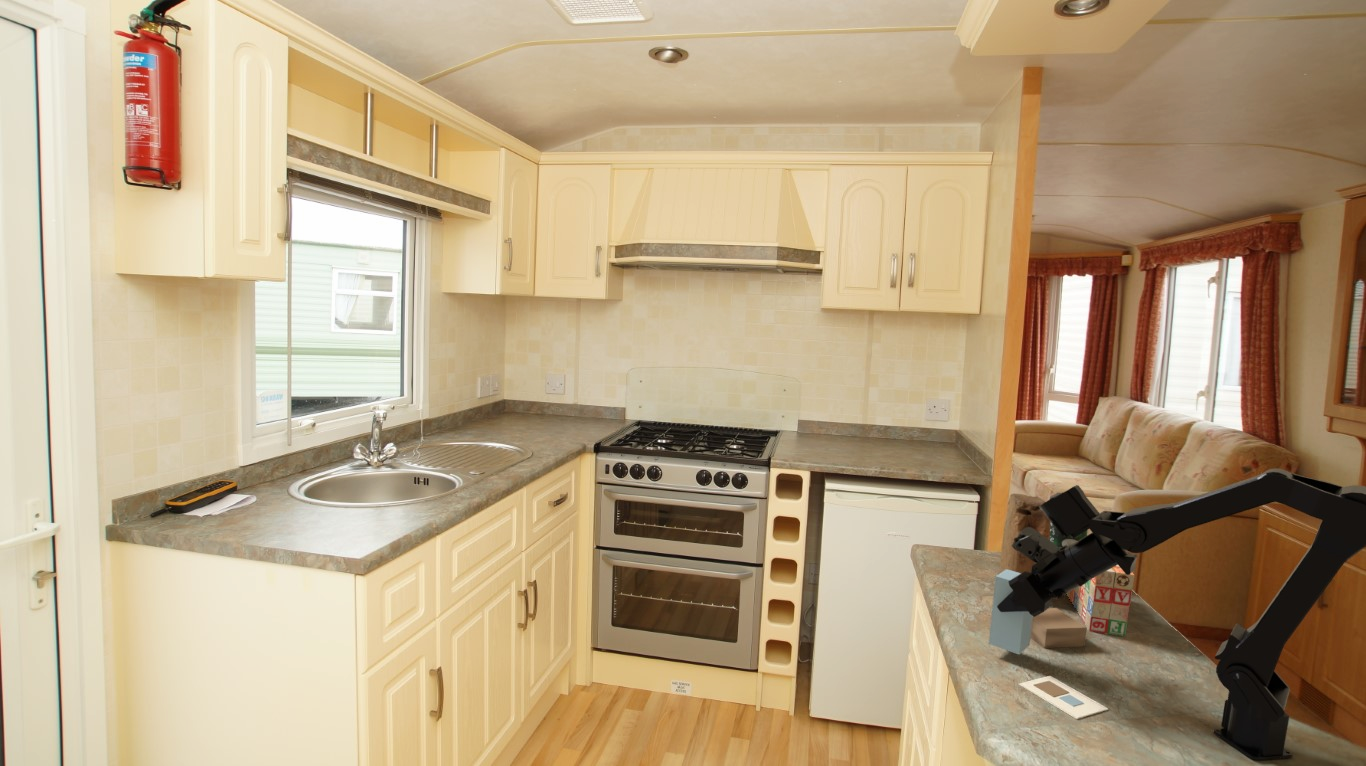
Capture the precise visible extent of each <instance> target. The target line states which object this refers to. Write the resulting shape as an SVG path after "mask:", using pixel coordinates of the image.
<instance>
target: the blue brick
mask: <svg viewBox="0 0 1366 766" xmlns="http://www.w3.org/2000/svg"><path fill="white" fill-rule="evenodd" d="M1019 574H1021V573H1018V572H1015V571H1011V570H1008V569H1006V570H1005V571H1003V572H1002V573H1000V572H999V573H998V574H997V575H996V576H995V579H994V588H993V598H992V599H993V601H992V609H991V618H990V619H991V620H990V626H989V627H990V628H989V629H990V630H989V637H988V638H989V639H988V645H991V646H994V647H997V648H999V649H1002V650H1005V651H1008V652H1011V653H1014V654H1015V655H1016V654H1017V655H1020V654H1022V653H1023V652H1024V651H1025V650H1027V648H1029V646H1030V645H1031V644H1030V643H1031V638H1030V637H1031V628H1032V619H1033V616H1032V615H1031V614H1030V613H1029V612H1000V611H999V609H998V608H997V606H998V605H999V604H1000V603H1001V602H1002V601H1003V600H1004V599H1005V598H1006V597H1007V596H1008V595H1009V594H1010V593H1011V592H1012V591H1013V590H1012V588H1011V587H1010V586H1009V582H1008V581H1010V580H1011V579H1013V578H1014V577H1016V576H1018V575H1019Z"/></svg>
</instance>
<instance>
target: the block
mask: <svg viewBox="0 0 1366 766" xmlns="http://www.w3.org/2000/svg"><path fill="white" fill-rule="evenodd" d="M1045 502H1046V501H1045V500H1044V499H1042V498H1041V497H1038V496H1031V495H1027V494H1022V493H1011V494H1010V495H1009V498H1008V503H1007V509H1006V513H1005V514H1006V515H1005V521H1004V528H1003V534H1002V535H1003V536H1002V543H1001V544H1002V545H1001V553H1000V562H999V574H1000V573H1002V572H1003V571H1005V570H1006V569H1008V570H1011V571H1015V572H1018V573H1023V572H1024V571H1027V572H1030V573H1031V571H1032V566H1033V565H1034V564H1036V562H1034V561H1032V560H1030V559H1029V558H1028V557H1026V556H1025V555H1023V554H1022V553H1021V552H1019V551H1016V550H1015V549H1014V548H1013V547H1012V543H1013V542H1014V538H1016V537H1017V536H1018V535H1019V533H1020V532H1021V531H1022V530H1023V529H1025V528H1027V527H1031V528H1033V529H1035V530H1036V531H1038V532H1039V533H1040V534H1042V535H1043V536H1045V537H1046V538H1048V539H1050V525H1051V523H1050V520H1049V519H1048V517H1047V516H1046V515H1045V514H1044V512H1043V511H1042V510H1041V509H1040V507H1039V506H1041V505H1042V504H1043V503H1045Z"/></svg>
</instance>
